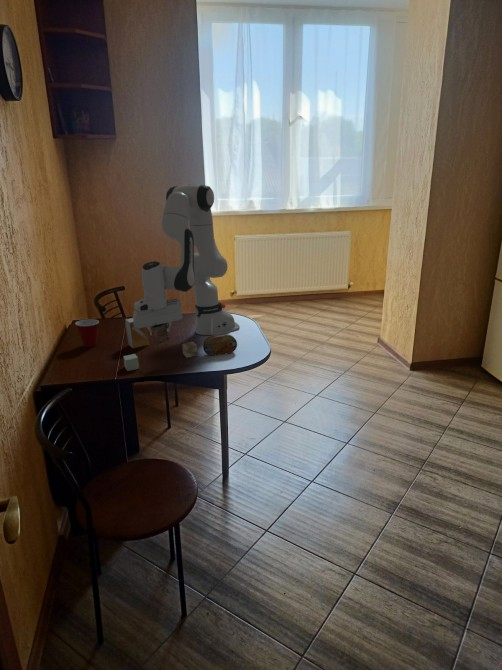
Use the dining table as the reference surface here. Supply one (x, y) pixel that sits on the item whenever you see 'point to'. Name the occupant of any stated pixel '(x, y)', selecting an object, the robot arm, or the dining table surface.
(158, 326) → the lighter
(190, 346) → the cream rounded lump
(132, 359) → the sage block
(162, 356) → the dining table surface
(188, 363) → the dining table surface
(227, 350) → the tin
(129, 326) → the small box
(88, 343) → the plastic cup
